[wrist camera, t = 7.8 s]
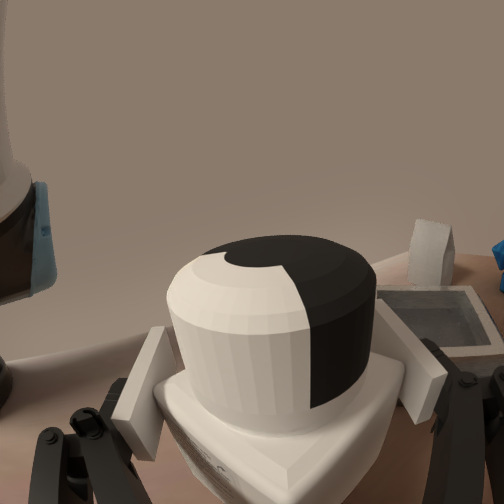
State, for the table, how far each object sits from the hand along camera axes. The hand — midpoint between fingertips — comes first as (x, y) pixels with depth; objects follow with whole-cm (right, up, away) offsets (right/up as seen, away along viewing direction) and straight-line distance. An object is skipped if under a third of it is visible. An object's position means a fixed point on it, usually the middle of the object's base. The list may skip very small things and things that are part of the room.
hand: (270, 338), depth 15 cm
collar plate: (+18, -6, +13) cm, 23 cm away
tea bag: (+27, -1, +26) cm, 37 cm away
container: (+1, -8, -2) cm, 8 cm away
